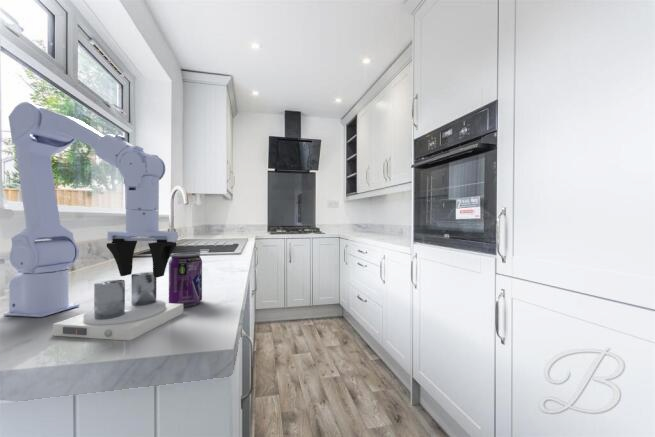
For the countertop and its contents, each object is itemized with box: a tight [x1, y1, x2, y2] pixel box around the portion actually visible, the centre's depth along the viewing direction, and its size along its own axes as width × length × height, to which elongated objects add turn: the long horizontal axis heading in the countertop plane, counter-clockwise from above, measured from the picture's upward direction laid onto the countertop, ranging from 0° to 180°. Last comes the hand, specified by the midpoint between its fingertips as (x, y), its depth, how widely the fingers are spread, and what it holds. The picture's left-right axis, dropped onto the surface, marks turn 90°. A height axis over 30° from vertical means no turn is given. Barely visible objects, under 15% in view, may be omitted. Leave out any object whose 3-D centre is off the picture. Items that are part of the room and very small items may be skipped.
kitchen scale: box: [52, 299, 184, 341], centre depth 55 cm, size 15×14×3 cm
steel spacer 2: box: [130, 271, 157, 306], centre depth 60 cm, size 4×4×6 cm
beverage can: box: [168, 251, 203, 308], centre depth 68 cm, size 7×7×12 cm
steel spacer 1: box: [93, 279, 126, 320], centre depth 52 cm, size 4×4×6 cm
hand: (142, 275), depth 59 cm, fingers open, 7 cm apart
